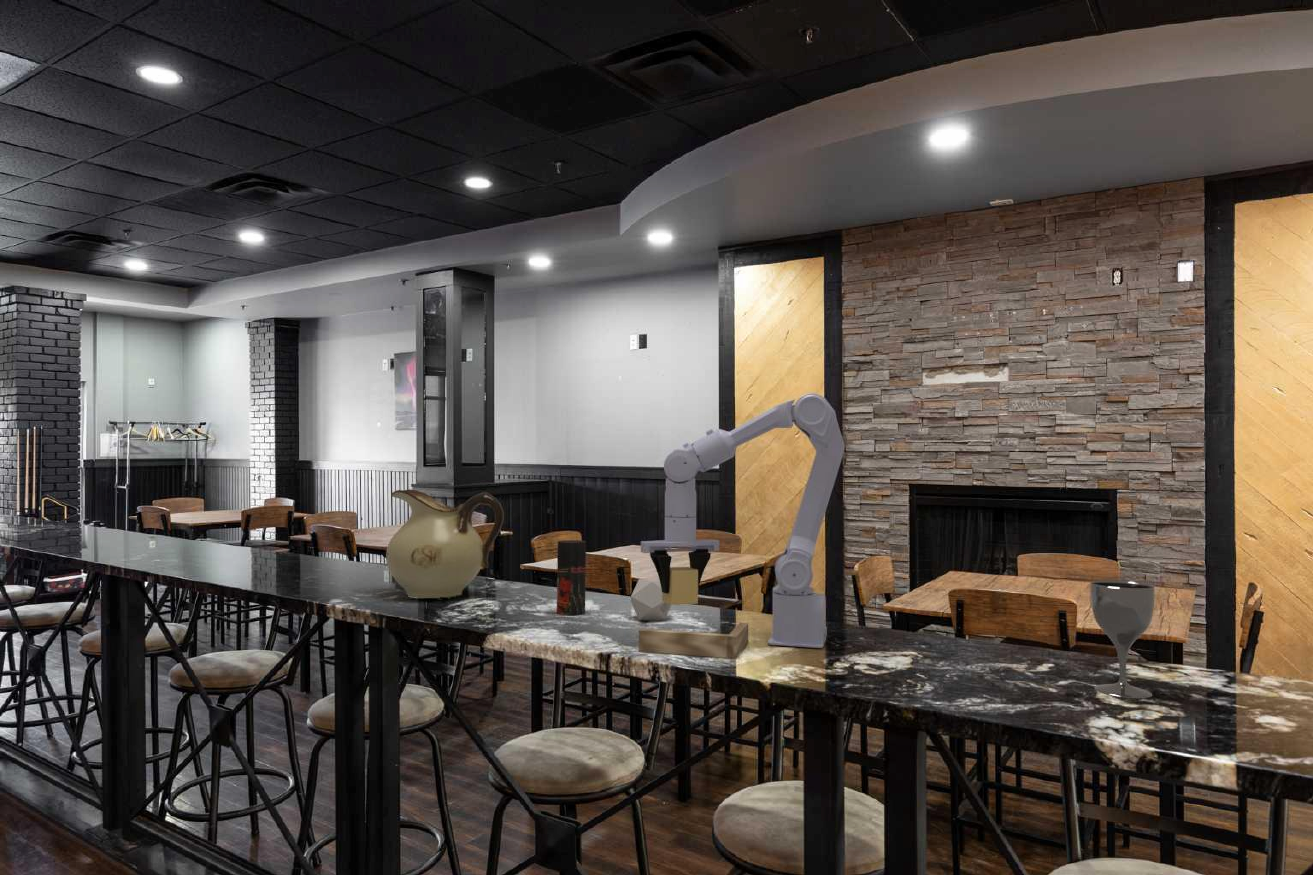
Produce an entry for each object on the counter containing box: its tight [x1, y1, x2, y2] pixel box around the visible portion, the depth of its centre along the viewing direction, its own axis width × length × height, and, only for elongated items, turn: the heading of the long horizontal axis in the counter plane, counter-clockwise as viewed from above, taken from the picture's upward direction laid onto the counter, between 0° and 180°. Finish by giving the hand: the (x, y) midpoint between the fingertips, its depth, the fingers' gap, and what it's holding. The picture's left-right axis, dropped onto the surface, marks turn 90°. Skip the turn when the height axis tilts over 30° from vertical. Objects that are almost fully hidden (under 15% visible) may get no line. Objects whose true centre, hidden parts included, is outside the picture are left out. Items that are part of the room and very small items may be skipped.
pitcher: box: [385, 488, 505, 598], centre depth 194 cm, size 22×24×25 cm
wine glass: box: [1089, 579, 1156, 699], centre depth 116 cm, size 8×8×15 cm
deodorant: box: [556, 539, 587, 616], centre depth 173 cm, size 6×6×15 cm
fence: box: [638, 622, 749, 659], centre depth 141 cm, size 16×12×4 cm
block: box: [662, 566, 699, 606], centre depth 149 cm, size 5×5×6 cm
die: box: [630, 578, 672, 621], centre depth 167 cm, size 8×9×10 cm
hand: (680, 591), depth 148 cm, fingers closed on block, 5 cm apart
